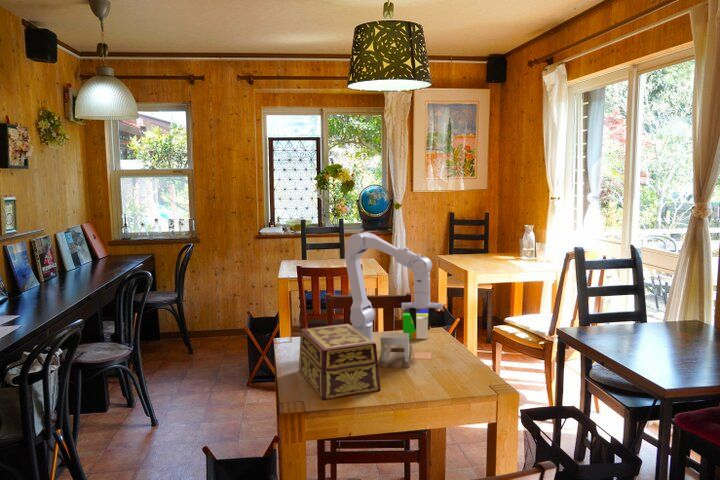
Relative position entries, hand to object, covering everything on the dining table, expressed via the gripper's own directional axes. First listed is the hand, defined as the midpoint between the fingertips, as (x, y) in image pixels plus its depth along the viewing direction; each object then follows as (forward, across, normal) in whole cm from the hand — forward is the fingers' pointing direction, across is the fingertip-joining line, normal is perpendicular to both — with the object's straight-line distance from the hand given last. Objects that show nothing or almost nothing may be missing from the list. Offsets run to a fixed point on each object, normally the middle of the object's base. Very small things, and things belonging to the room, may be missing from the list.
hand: (422, 328), depth 198 cm
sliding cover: (+8, -9, -9) cm, 15 cm away
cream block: (+3, 0, 0) cm, 3 cm away
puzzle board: (+10, -9, -3) cm, 14 cm away
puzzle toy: (+11, -4, +26) cm, 28 cm away
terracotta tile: (+10, 0, 0) cm, 10 cm away
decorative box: (+11, -26, -25) cm, 38 cm away
